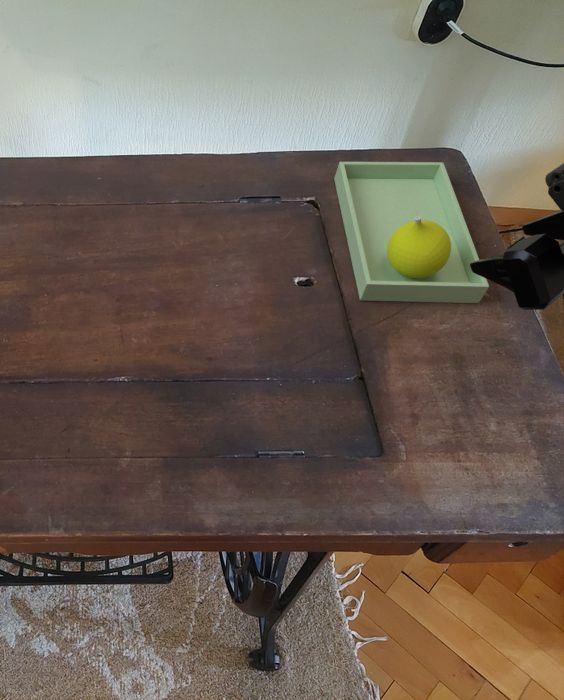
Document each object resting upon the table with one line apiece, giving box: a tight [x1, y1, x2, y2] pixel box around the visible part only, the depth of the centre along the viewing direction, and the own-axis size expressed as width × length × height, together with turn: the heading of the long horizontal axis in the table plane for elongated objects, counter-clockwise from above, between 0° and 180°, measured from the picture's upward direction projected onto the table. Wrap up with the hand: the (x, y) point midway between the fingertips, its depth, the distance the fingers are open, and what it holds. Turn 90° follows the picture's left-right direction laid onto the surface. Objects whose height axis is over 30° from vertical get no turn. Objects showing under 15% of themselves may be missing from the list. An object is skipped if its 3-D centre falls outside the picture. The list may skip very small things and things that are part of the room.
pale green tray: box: [333, 161, 490, 304], centre depth 86 cm, size 14×23×3 cm, turn 176°
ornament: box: [387, 211, 451, 278], centre depth 79 cm, size 7×7×10 cm
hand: (498, 248), depth 71 cm, fingers open, 9 cm apart
